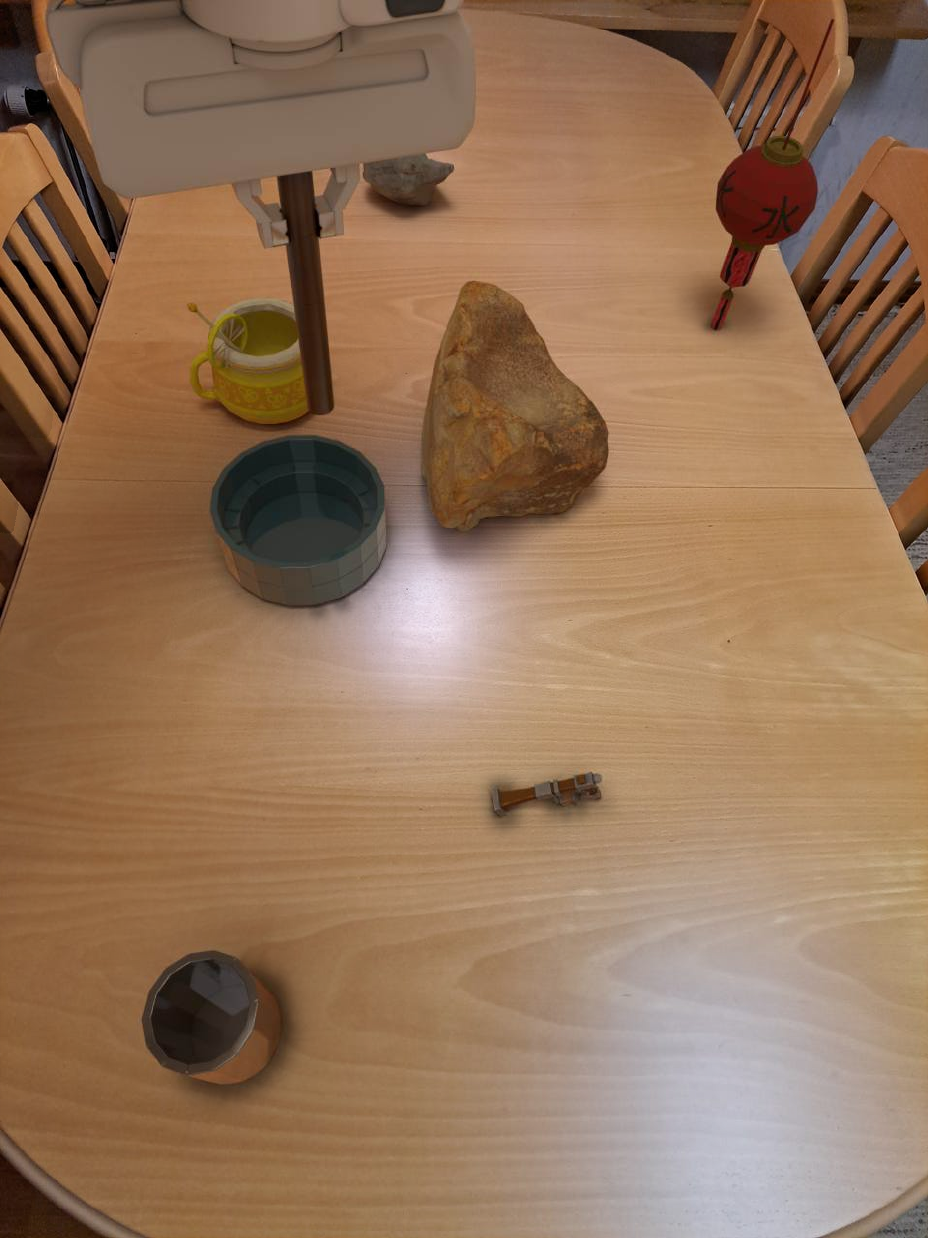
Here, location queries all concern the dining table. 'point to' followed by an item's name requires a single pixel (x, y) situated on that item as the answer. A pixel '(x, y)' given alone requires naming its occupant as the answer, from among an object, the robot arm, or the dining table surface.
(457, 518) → the orange rock
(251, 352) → the mug
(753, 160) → the lantern
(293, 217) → the stick
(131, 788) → the dining table surface
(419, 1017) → the dining table surface
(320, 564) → the bowl
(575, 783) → the wooden lamp post
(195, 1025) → the holder
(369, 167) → the fossil
